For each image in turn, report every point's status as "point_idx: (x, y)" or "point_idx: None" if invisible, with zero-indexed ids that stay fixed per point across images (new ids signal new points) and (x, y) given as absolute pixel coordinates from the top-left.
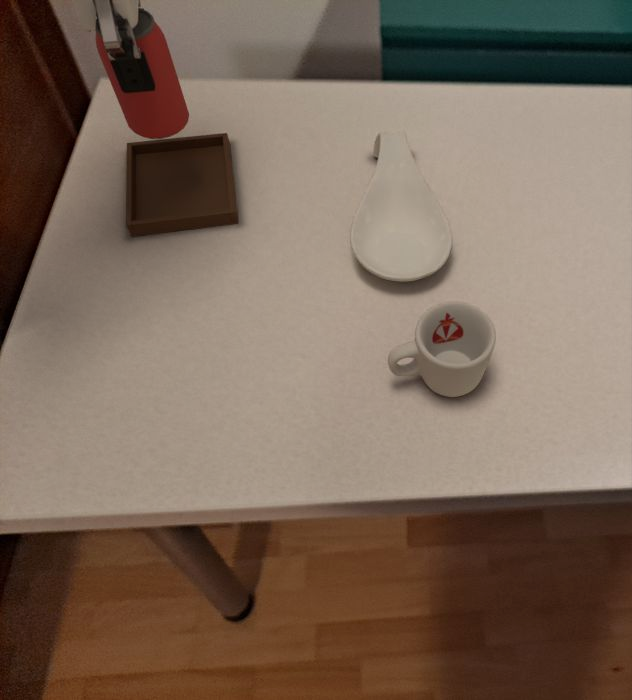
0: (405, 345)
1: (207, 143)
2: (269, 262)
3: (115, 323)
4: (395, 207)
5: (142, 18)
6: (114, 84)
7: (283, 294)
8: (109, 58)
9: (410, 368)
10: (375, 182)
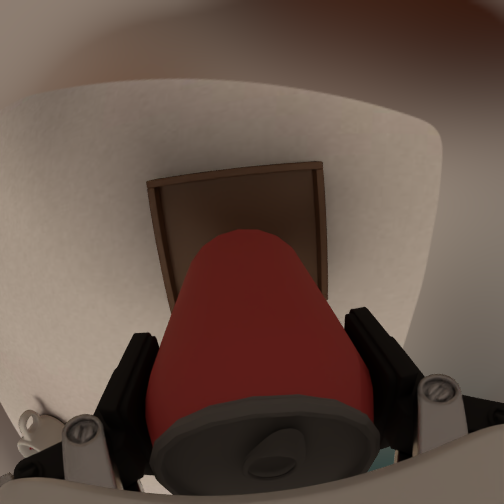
0: (24, 434)
1: (318, 270)
2: (122, 336)
3: (40, 187)
4: None
5: None
6: (185, 297)
7: (87, 345)
8: (65, 426)
9: (34, 419)
10: None
